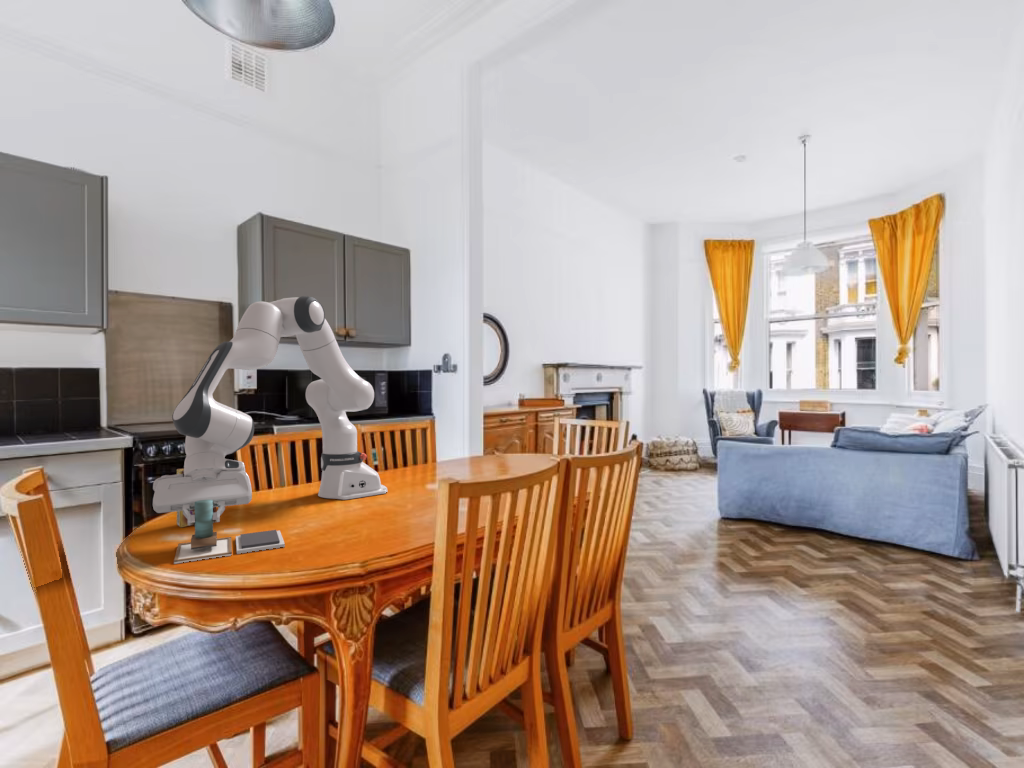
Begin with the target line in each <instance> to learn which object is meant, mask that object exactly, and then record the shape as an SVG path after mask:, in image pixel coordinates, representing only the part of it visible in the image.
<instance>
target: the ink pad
mask: <svg viewBox="0 0 1024 768" xmlns="http://www.w3.org/2000/svg"><path fill="white" fill-rule="evenodd" d="M235 545H236V548H235V549H236V555H241V553H242V554H247V552H248V553H253V552H252V551H255V552H260V551H259V550H262V551H267V550H266V549H269V550H274V549H273V548H276V549H281V548H280V547H283V548H285V547H286V545H285V540H284V538H283V535H282V533H281V530H277V529H271V530H270V529H269V530H265V531H264V530H263V531H257V532H250V533H249V532H248V533H242V534H240V535H236V536H235Z"/></svg>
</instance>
